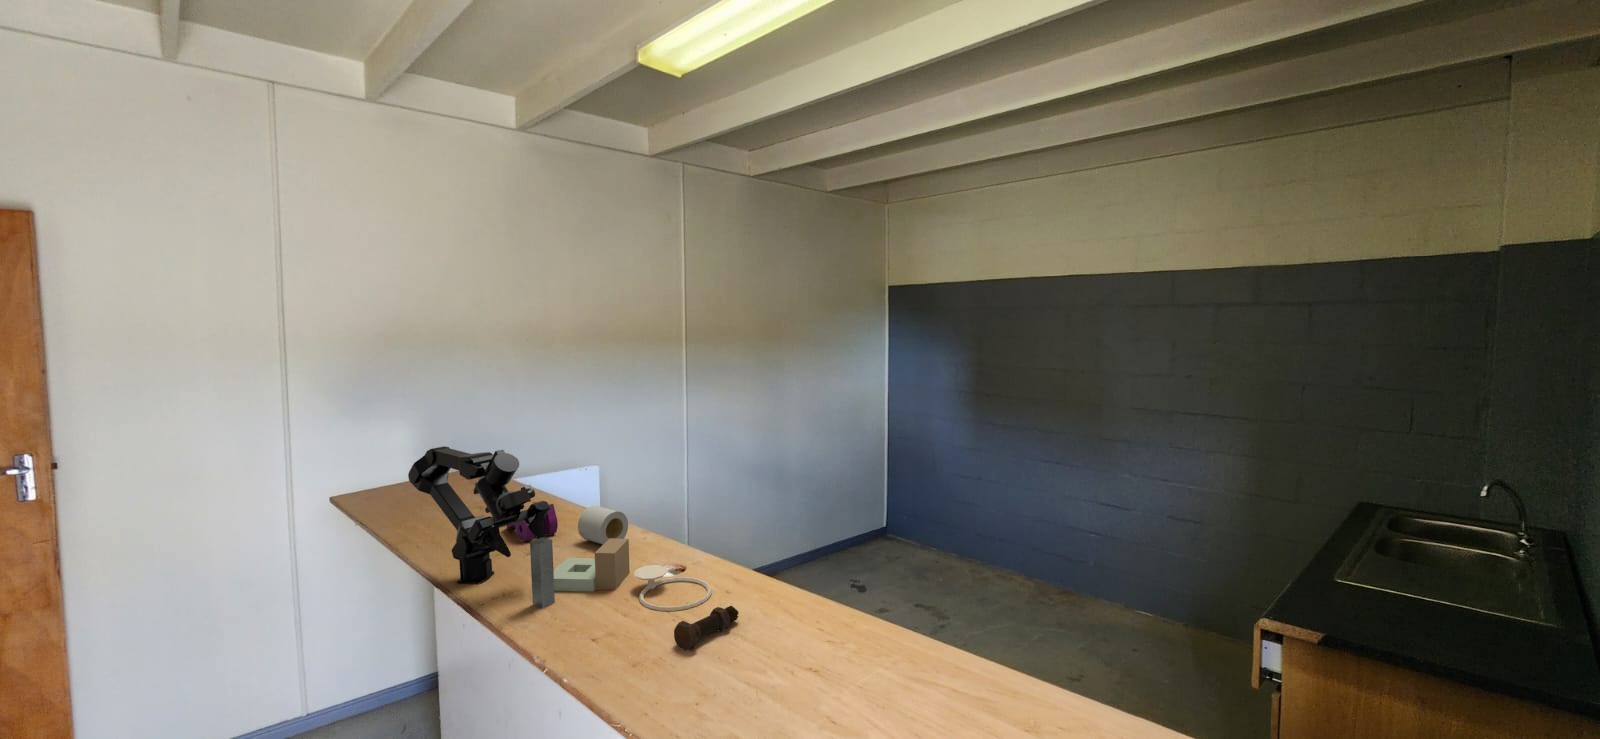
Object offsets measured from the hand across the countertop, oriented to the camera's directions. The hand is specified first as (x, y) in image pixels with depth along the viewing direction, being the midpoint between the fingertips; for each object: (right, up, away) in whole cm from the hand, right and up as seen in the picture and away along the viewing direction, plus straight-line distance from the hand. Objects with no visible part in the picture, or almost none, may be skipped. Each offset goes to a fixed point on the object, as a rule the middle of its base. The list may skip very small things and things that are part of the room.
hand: (527, 549), depth 151 cm
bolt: (+45, -13, -16) cm, 50 cm away
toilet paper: (+6, -9, +38) cm, 40 cm away
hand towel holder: (+33, -12, +3) cm, 35 cm away
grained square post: (+4, -12, -2) cm, 13 cm away
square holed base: (+11, -11, +11) cm, 19 cm away
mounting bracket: (-19, -8, +47) cm, 51 cm away
